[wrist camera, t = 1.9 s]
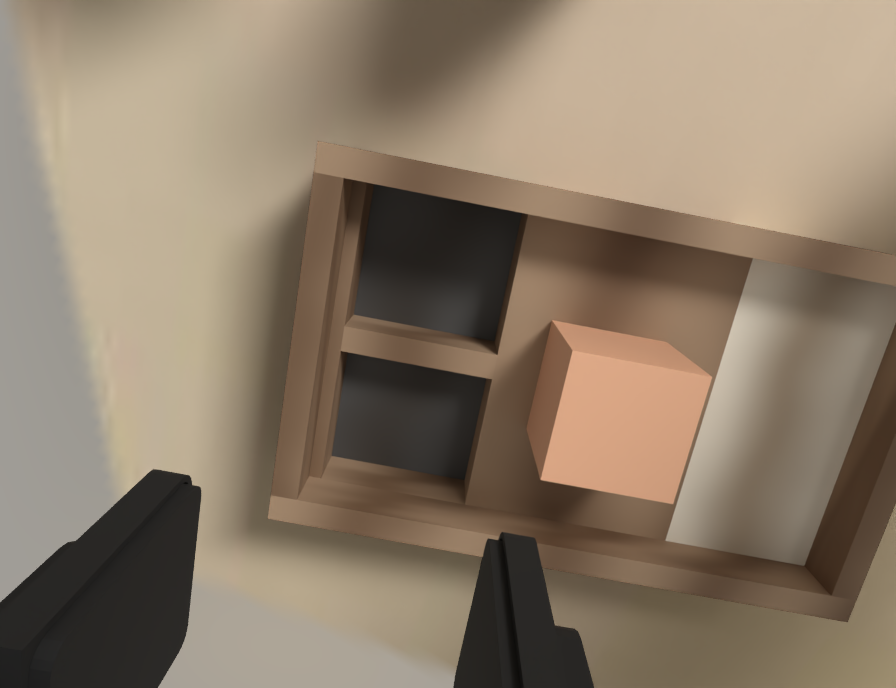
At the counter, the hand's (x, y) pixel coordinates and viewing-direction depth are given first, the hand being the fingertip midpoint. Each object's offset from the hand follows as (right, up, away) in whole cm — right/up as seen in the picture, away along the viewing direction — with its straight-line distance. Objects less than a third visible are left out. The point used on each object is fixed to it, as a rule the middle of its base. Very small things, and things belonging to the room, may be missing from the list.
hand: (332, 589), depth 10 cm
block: (+8, +2, +15) cm, 17 cm away
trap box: (+8, +3, +17) cm, 19 cm away
